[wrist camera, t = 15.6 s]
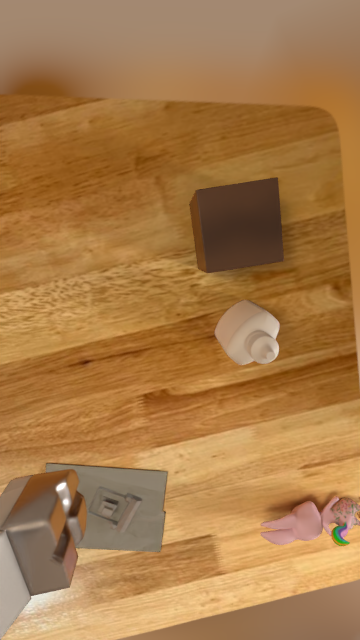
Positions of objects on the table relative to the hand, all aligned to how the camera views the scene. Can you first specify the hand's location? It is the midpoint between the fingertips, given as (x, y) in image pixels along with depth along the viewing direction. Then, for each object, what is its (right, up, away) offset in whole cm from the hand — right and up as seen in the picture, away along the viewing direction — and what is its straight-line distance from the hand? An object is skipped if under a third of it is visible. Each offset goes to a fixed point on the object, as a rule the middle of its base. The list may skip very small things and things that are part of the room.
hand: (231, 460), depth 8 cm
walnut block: (+4, +13, +25) cm, 28 cm away
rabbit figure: (+16, -22, +34) cm, 43 cm away
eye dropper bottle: (+5, +4, +27) cm, 28 cm away
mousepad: (-6, -20, +32) cm, 38 cm away
